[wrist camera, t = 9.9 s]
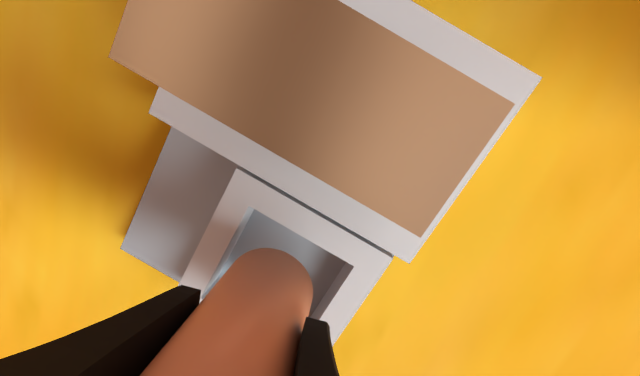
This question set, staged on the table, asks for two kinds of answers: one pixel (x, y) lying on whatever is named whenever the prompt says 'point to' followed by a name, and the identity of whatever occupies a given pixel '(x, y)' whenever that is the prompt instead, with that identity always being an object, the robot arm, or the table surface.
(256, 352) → the tail peg
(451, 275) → the table surface
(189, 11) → the tan rectangular block
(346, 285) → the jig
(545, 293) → the table surface
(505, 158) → the table surface
